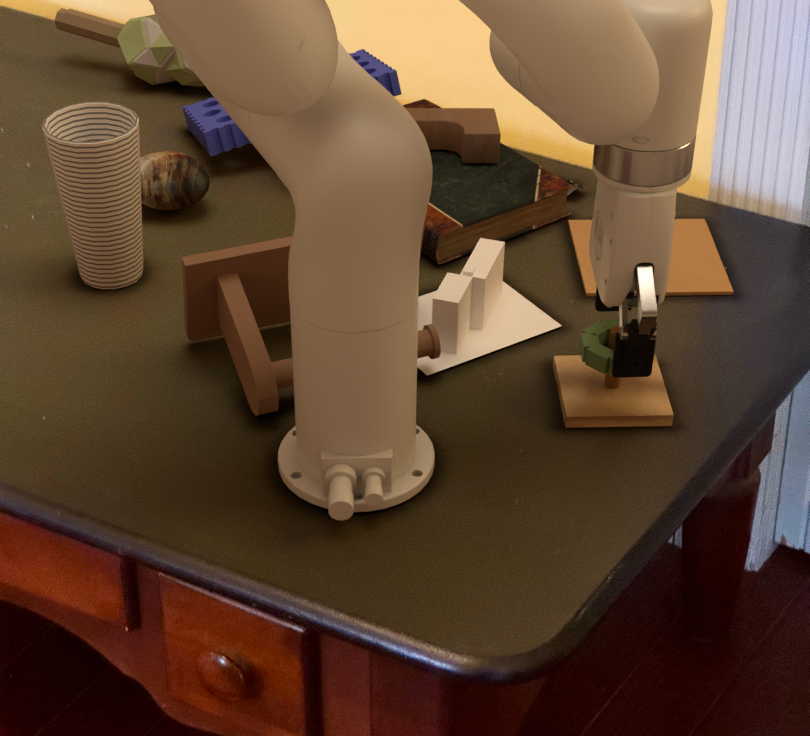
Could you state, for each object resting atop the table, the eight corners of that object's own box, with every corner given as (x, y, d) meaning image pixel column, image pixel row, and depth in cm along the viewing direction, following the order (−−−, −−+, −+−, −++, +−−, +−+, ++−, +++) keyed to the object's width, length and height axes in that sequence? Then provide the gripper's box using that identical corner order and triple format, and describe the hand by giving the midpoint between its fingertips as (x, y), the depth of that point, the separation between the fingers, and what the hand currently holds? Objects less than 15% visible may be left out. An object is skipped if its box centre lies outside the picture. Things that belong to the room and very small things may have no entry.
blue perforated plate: (323, 39, 170) (328, 61, 172) (144, 110, 162) (151, 132, 163) (439, 66, 151) (444, 90, 153) (243, 147, 143) (250, 172, 144)
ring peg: (671, 426, 121) (682, 360, 117) (565, 428, 121) (572, 362, 116) (653, 365, 128) (663, 301, 123) (552, 366, 127) (558, 302, 123)
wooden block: (492, 137, 153) (351, 137, 152) (494, 107, 151) (350, 107, 150) (499, 163, 148) (352, 164, 147) (501, 133, 146) (352, 133, 145)
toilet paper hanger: (226, 453, 123) (226, 381, 114) (185, 334, 129) (181, 257, 120) (460, 399, 128) (477, 327, 120) (410, 287, 134) (422, 211, 126)
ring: (657, 374, 119) (660, 358, 118) (585, 376, 119) (587, 359, 118) (645, 334, 124) (647, 318, 123) (575, 335, 124) (577, 319, 123)
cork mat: (733, 294, 137) (733, 291, 136) (586, 296, 136) (586, 293, 136) (704, 221, 147) (704, 218, 147) (567, 223, 147) (568, 219, 146)
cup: (83, 248, 142) (60, 97, 132) (167, 255, 141) (150, 104, 131) (54, 293, 136) (27, 139, 125) (142, 301, 135) (122, 146, 125)
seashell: (154, 198, 153) (107, 213, 146) (149, 142, 150) (100, 156, 144) (229, 204, 149) (184, 221, 142) (225, 148, 146) (178, 162, 140)
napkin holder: (489, 271, 139) (492, 217, 135) (563, 325, 132) (568, 270, 128) (358, 317, 133) (357, 262, 129) (428, 376, 126) (430, 320, 122)
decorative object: (86, 35, 178) (264, 88, 172) (40, 68, 172) (224, 124, 166) (78, -35, 172) (264, 18, 166) (31, -3, 166) (222, 53, 159)
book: (572, 217, 147) (425, 127, 162) (575, 184, 145) (426, 96, 160) (436, 267, 140) (295, 168, 155) (437, 234, 137) (294, 137, 152)
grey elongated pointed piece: (571, 200, 149) (587, 209, 151) (580, 179, 149) (595, 188, 151) (528, 190, 153) (544, 199, 155) (536, 169, 153) (552, 178, 155)
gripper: (579, 103, 116) (564, 287, 127) (610, 209, 103) (591, 404, 114) (672, 101, 116) (649, 285, 127) (715, 207, 103) (685, 401, 114)
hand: (621, 341), depth 121 cm, fingers open, 9 cm apart
